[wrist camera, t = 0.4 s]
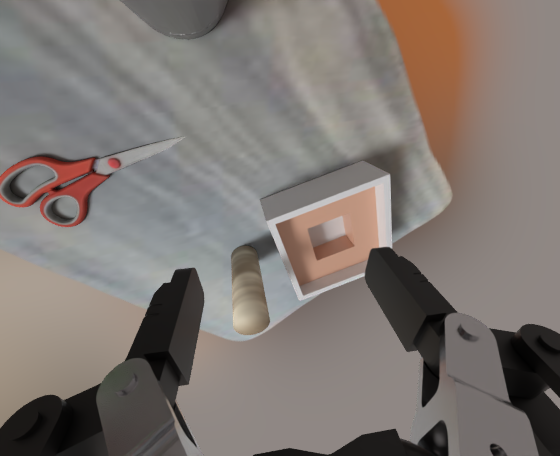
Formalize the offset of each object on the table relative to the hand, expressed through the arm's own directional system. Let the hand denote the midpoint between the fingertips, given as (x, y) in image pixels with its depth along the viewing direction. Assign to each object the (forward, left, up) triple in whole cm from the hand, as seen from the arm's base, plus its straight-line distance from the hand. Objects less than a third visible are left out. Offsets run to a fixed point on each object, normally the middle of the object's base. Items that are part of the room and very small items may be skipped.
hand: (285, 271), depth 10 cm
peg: (+13, -6, -20) cm, 25 cm away
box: (+13, +7, -20) cm, 25 cm away
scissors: (-6, -15, -21) cm, 26 cm away
